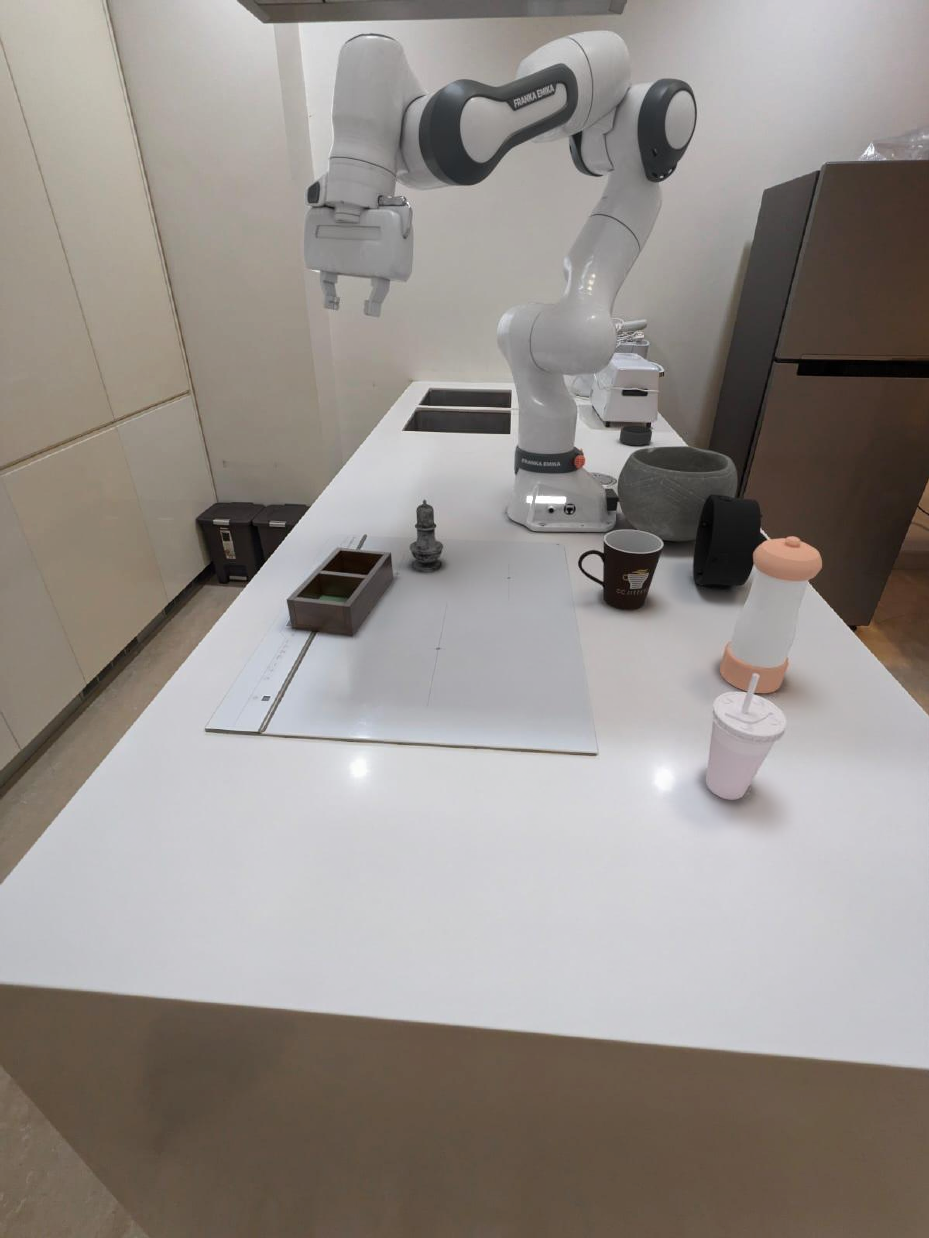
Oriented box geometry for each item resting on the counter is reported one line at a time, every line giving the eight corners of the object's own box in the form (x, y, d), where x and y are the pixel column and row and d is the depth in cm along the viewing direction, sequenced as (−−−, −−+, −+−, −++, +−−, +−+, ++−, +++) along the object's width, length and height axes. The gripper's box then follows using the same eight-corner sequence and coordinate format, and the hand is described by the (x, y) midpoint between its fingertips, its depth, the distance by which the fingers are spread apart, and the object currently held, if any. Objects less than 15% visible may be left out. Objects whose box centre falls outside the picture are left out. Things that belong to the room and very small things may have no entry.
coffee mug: (653, 591, 93) (664, 533, 88) (650, 617, 86) (662, 557, 81) (581, 580, 97) (588, 524, 91) (572, 605, 90) (579, 545, 84)
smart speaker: (654, 441, 171) (656, 427, 169) (644, 448, 165) (647, 434, 163) (624, 437, 175) (626, 423, 173) (614, 444, 169) (616, 430, 167)
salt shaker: (439, 574, 99) (437, 507, 92) (406, 571, 100) (402, 504, 93) (447, 559, 103) (445, 494, 97) (415, 556, 104) (412, 492, 98)
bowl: (664, 566, 101) (681, 483, 93) (589, 525, 117) (598, 450, 109) (748, 543, 109) (770, 464, 101) (667, 507, 125) (681, 437, 117)
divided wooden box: (393, 578, 97) (391, 552, 95) (353, 635, 82) (349, 606, 80) (340, 572, 99) (337, 547, 97) (291, 628, 84) (286, 599, 82)
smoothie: (681, 764, 61) (711, 655, 54) (740, 760, 62) (777, 652, 54) (708, 812, 56) (745, 699, 48) (772, 808, 56) (818, 695, 49)
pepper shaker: (776, 700, 70) (828, 557, 60) (713, 681, 73) (753, 542, 63) (784, 670, 75) (833, 533, 65) (725, 653, 79) (763, 520, 68)
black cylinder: (794, 519, 81) (719, 513, 83) (766, 608, 89) (697, 600, 91) (773, 486, 93) (707, 481, 95) (750, 567, 101) (689, 561, 103)
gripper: (431, 204, 73) (416, 324, 79) (334, 204, 85) (327, 309, 90) (393, 187, 69) (380, 316, 74) (297, 190, 80) (291, 302, 86)
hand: (350, 312), depth 82 cm, fingers open, 8 cm apart
